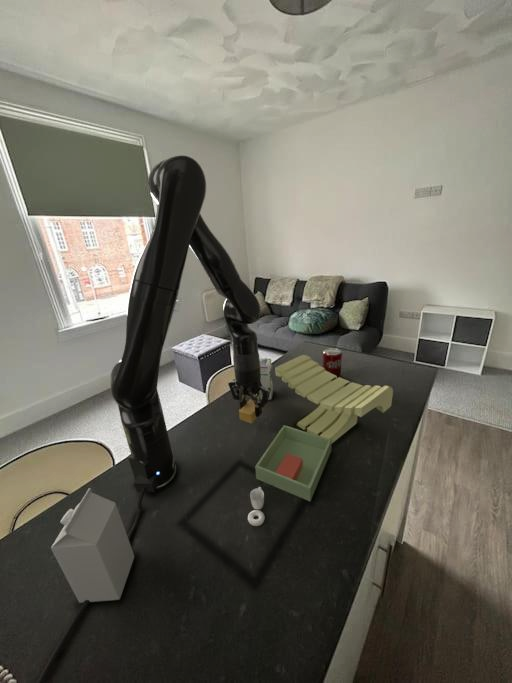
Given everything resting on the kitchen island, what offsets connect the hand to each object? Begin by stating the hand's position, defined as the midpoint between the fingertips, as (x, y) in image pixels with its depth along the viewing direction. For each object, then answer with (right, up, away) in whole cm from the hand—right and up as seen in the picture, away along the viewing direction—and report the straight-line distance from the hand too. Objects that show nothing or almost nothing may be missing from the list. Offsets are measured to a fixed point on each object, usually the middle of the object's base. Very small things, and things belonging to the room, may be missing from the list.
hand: (251, 413), depth 86 cm
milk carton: (-26, -22, -34) cm, 49 cm away
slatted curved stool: (+24, -4, +2) cm, 25 cm away
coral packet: (+10, -12, -16) cm, 22 cm away
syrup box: (+5, +1, +19) cm, 20 cm away
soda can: (+33, +7, +28) cm, 44 cm away
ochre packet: (0, -1, 0) cm, 1 cm away
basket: (+12, -11, -13) cm, 20 cm away
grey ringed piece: (-1, -17, -24) cm, 29 cm away
